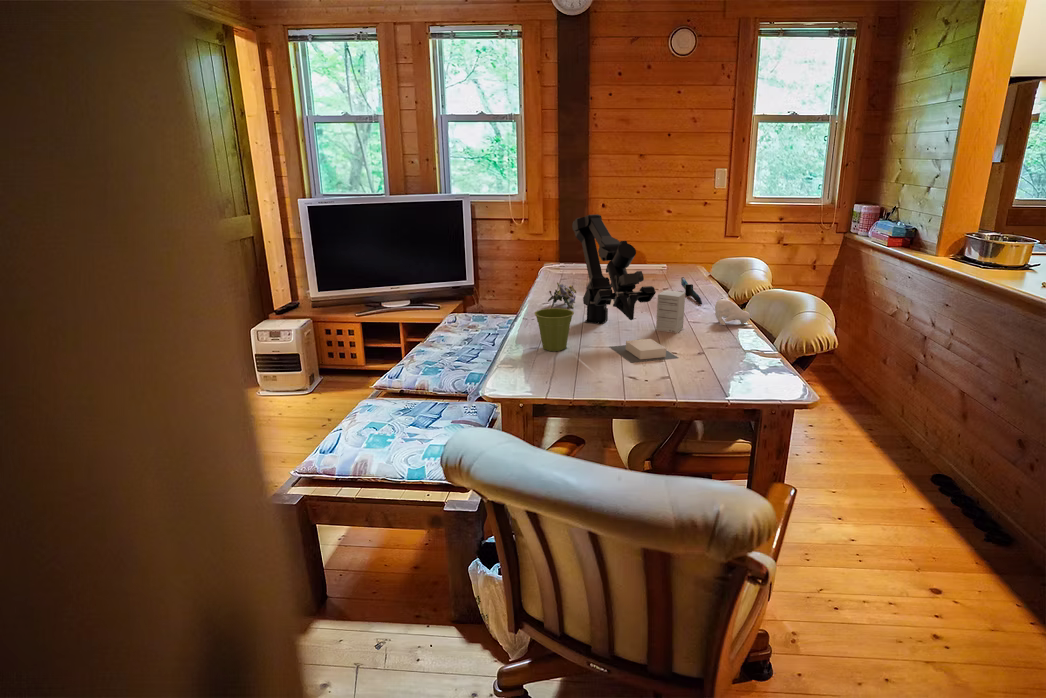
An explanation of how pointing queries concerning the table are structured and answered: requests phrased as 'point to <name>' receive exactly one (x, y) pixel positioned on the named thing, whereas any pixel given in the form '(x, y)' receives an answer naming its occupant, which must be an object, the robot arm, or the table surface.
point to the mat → (633, 359)
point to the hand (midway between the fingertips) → (631, 319)
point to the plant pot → (554, 327)
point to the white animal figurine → (730, 312)
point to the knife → (690, 290)
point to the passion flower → (564, 295)
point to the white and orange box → (645, 349)
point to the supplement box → (670, 311)
